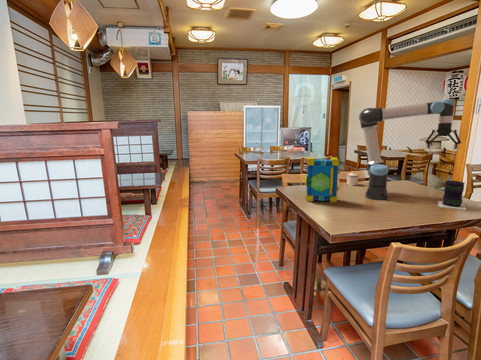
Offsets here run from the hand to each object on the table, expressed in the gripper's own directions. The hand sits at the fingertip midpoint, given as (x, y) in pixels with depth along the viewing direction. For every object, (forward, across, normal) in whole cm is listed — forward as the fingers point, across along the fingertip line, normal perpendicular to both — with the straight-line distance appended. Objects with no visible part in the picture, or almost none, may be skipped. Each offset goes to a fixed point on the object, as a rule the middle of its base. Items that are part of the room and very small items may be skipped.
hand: (441, 153), depth 196 cm
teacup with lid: (+32, +61, -13) cm, 70 cm away
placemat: (+32, -8, +22) cm, 39 cm away
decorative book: (+32, +68, +50) cm, 90 cm away
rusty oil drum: (+31, -8, +22) cm, 39 cm away
